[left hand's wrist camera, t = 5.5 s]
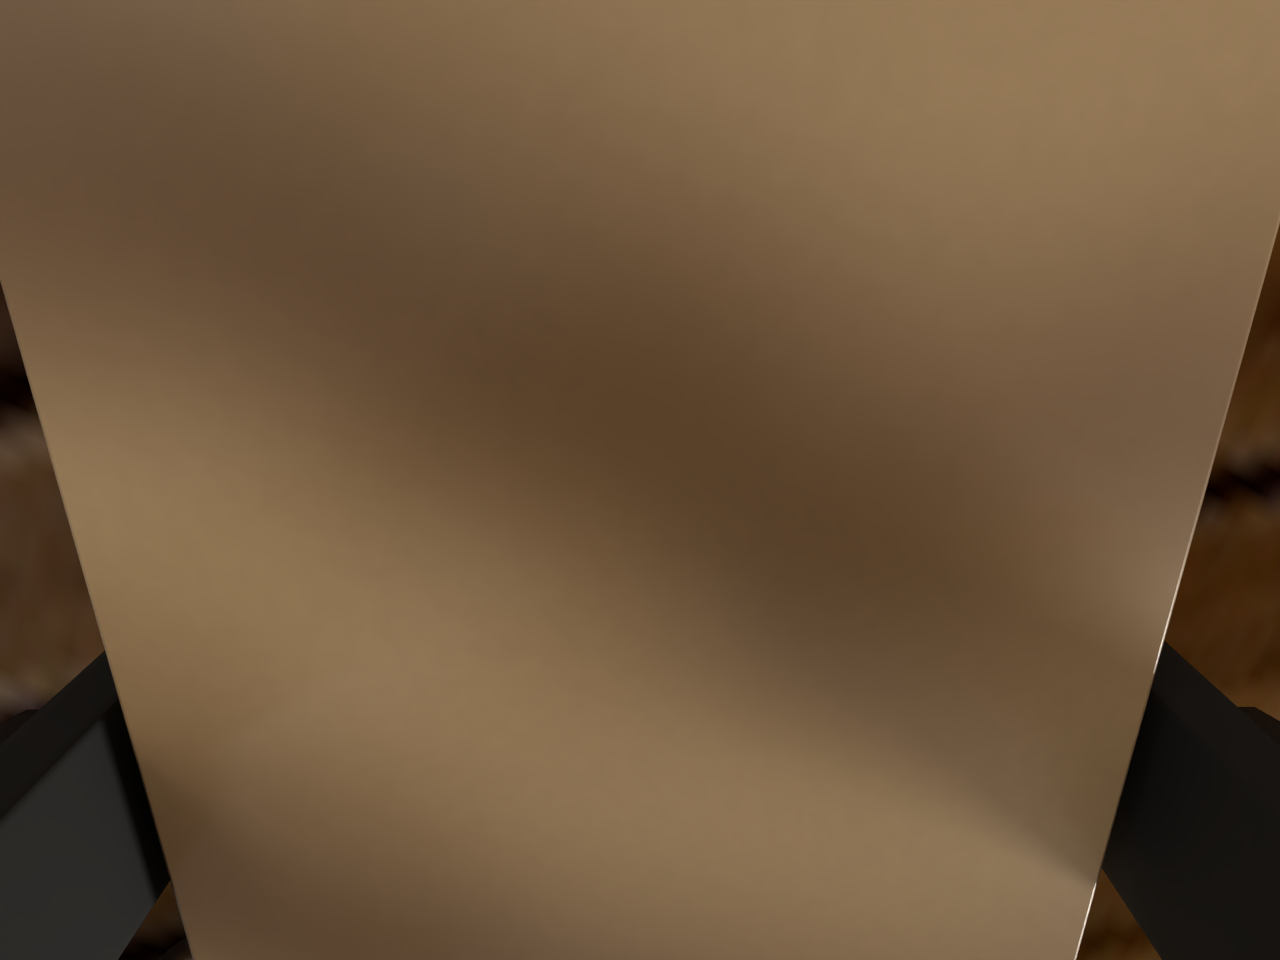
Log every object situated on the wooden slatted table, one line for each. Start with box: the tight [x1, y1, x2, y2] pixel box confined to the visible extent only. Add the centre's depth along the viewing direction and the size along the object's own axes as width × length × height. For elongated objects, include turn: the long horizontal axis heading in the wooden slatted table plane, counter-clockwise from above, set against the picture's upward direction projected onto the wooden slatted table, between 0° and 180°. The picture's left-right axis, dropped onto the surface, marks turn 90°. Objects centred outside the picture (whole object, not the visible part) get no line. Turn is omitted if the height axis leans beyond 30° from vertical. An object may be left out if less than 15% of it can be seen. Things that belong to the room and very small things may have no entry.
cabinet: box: [0, 0, 1280, 960], centre depth 12 cm, size 19×11×11 cm, turn 0°
